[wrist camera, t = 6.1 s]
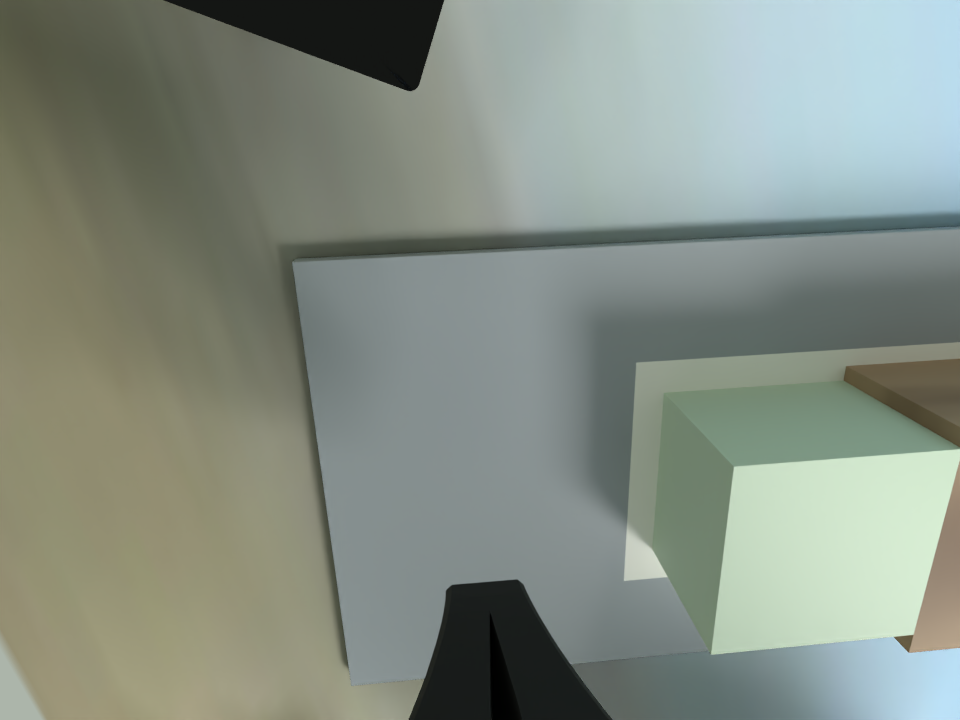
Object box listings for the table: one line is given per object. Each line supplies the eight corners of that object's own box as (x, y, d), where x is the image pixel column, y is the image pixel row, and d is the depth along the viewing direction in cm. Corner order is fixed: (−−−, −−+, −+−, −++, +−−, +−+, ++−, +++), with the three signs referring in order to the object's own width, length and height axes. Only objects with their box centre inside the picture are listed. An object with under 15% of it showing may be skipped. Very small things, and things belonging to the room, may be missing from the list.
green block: (815, 535, 17) (913, 634, 13) (652, 549, 17) (711, 655, 13) (843, 380, 15) (962, 448, 12) (664, 393, 15) (734, 466, 12)
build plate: (1033, 608, 19) (1045, 618, 19) (352, 674, 18) (351, 685, 17) (1168, 216, 15) (1187, 218, 15) (295, 258, 13) (292, 262, 13)
